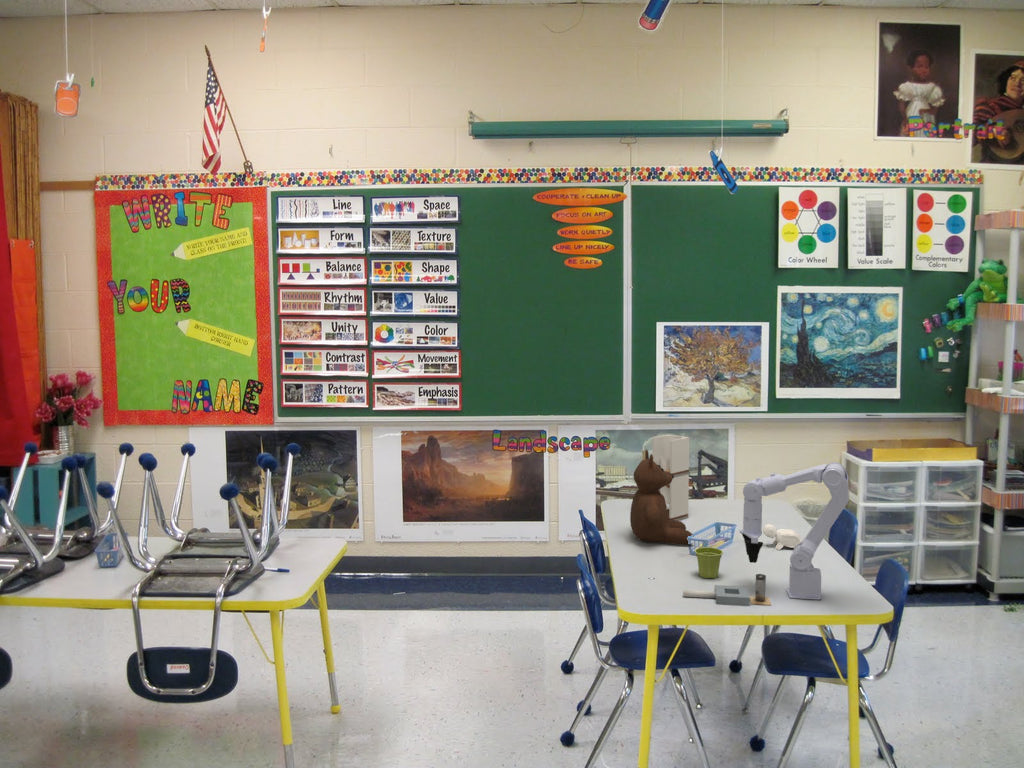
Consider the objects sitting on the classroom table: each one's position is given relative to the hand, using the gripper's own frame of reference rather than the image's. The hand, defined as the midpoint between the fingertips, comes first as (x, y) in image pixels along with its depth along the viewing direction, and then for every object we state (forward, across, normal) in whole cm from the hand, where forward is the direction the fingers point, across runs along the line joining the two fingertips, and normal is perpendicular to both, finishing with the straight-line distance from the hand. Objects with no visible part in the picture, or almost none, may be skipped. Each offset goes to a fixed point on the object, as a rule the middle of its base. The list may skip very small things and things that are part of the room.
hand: (751, 558), depth 273 cm
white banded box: (+10, -82, -25) cm, 86 cm away
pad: (+10, +12, +2) cm, 16 cm away
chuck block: (+10, +11, -12) cm, 19 cm away
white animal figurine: (+10, -47, +16) cm, 51 cm away
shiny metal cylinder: (+10, +12, +2) cm, 15 cm away
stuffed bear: (+10, -49, -29) cm, 58 cm away
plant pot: (+10, -10, -13) cm, 19 cm away
